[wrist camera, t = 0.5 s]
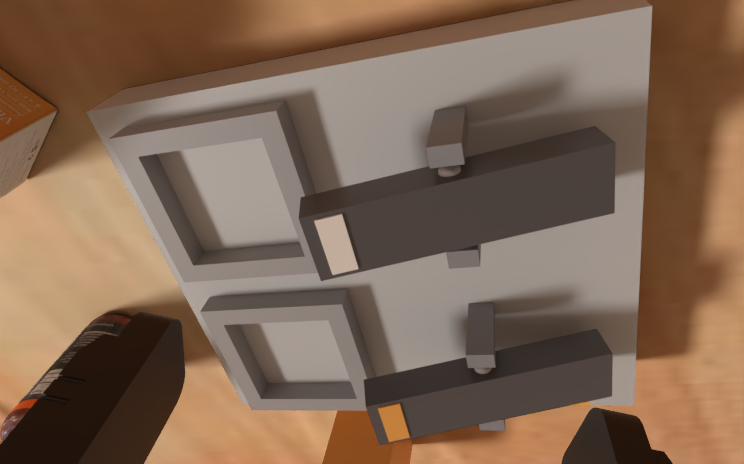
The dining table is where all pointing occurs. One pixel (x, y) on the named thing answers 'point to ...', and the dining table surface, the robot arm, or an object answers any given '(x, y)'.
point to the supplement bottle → (94, 330)
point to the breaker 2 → (490, 387)
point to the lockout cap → (362, 443)
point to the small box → (20, 130)
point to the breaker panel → (380, 159)
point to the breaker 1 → (460, 203)
